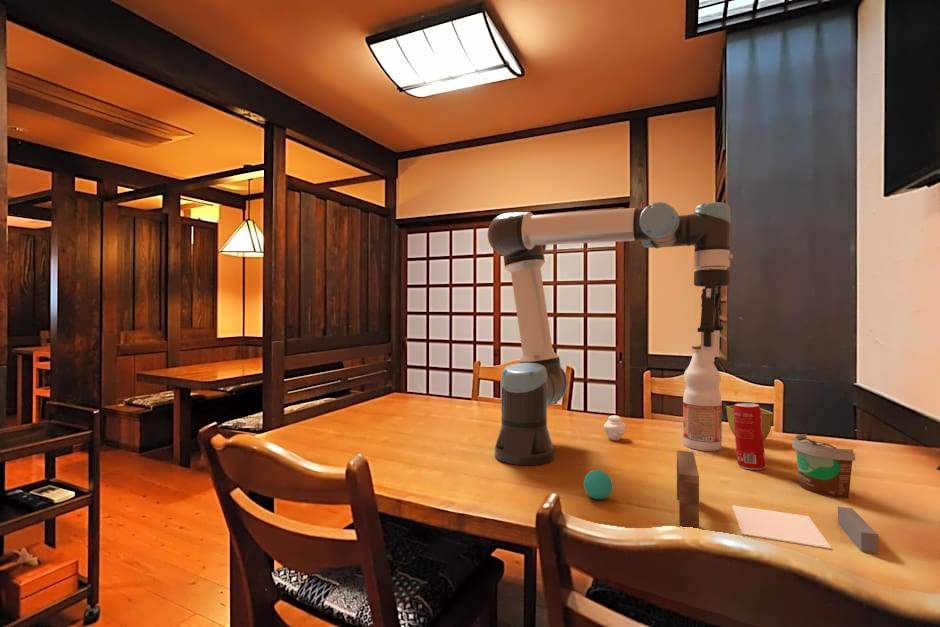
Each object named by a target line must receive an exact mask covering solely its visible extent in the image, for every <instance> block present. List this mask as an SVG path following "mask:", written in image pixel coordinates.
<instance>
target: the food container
mask: <svg viewBox="0 0 940 627" xmlns="http://www.w3.org/2000/svg"><path fill="white" fill-rule="evenodd" d="M791 447H792V449H794V450H795V452H796V453H795V454H796V455H795V456H796V465H797V472H798V473H797V475H798V484H799V486H800V487H801V488H802V489H804V490H805V491H807V492H810V493H813V494H816V495H820V496H825V497H829V498H835V499H836V498H837V499H849V497H850V488H851V478H852V468H853V461H856V456H855V452H854V449H852V448H851V449H850V448H837V447H835V446H833V445H831V444H829V443H825V442H819V441H815V440H813V439H809V438H807V434H806V433H805V434H804V433H802V434H797V435H795V437H794V438H793V441H792V445H791Z"/></svg>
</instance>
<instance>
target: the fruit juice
mask: <svg viewBox="0 0 940 627" xmlns="http://www.w3.org/2000/svg"><path fill="white" fill-rule="evenodd" d="M691 350H692V357H691V360H690V362H689V365H688V366H687V368H686V369H685V371H684V373H683V380H684V384H685V388H684V392H683V396H682V404H683V405H682V406H683V407H682V408H683V411H682V412H683V414H682V416H683V419H682V420H683V421H682V422H683V428H682V430H683V434H682V435H683V444H684V446H686V447H687V448H689V449H693V450H697V451H704V452H716V450H717V451H719V450H721V448H722V441H723V440H722V438H723V437H722V436H723V433H722V431H723V429H722V426H723V425H722V422H723V420H722V417H723V416H722V414H723V412H722V408H723V406H722V395H721V392H720V385H721V380H722V378H721V373H720V372H719V370H718V369H717V367H716V365H715V362H709V361H701V344H693V345H692V347H691Z"/></svg>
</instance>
